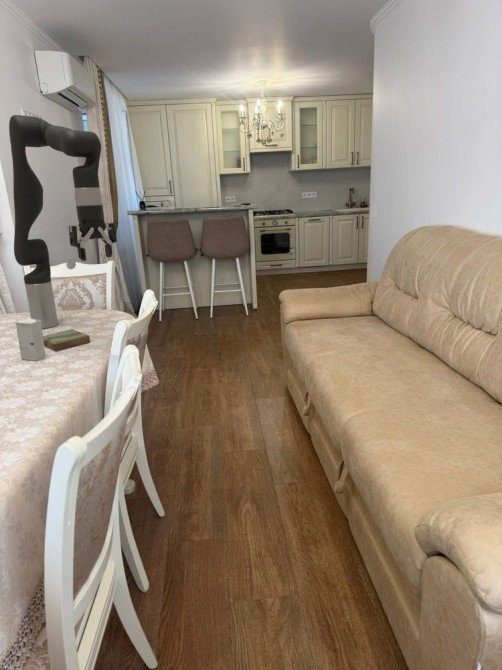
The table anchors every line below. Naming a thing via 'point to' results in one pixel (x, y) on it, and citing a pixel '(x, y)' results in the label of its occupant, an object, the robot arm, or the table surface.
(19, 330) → the skincare box
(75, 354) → the table surface
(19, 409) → the table surface
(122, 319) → the table surface
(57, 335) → the block
